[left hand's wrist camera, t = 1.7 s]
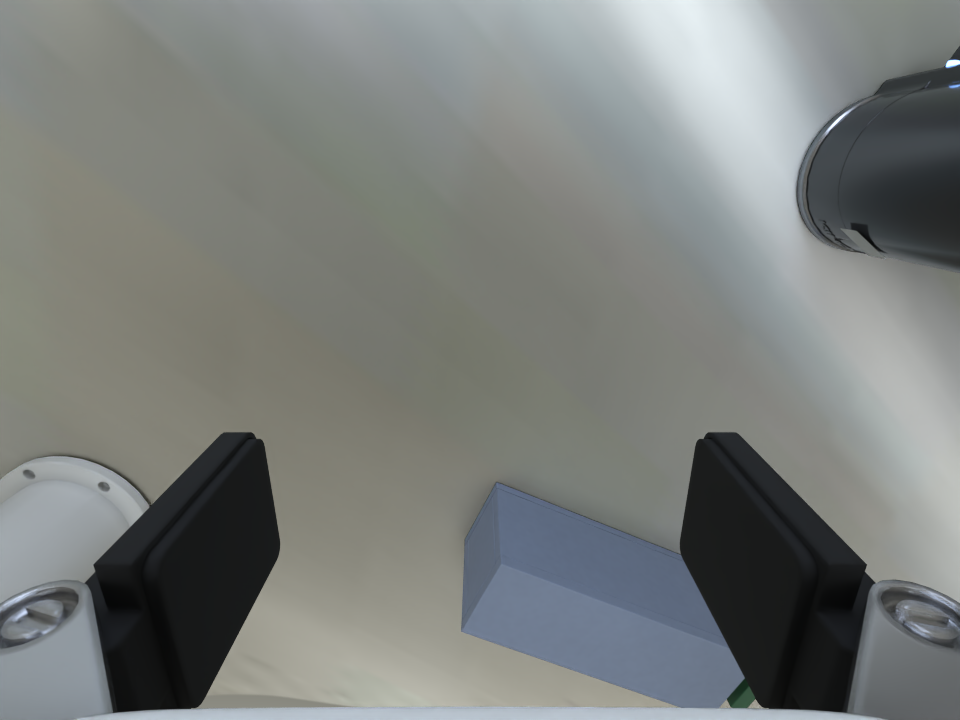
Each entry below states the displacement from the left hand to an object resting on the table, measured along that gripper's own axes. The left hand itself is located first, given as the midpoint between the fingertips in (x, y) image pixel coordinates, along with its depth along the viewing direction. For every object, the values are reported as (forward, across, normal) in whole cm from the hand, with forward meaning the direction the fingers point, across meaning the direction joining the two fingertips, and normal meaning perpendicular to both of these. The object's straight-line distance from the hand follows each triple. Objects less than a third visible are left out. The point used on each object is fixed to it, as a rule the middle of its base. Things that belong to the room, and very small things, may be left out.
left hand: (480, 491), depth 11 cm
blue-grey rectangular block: (+25, +9, -23) cm, 36 cm away
